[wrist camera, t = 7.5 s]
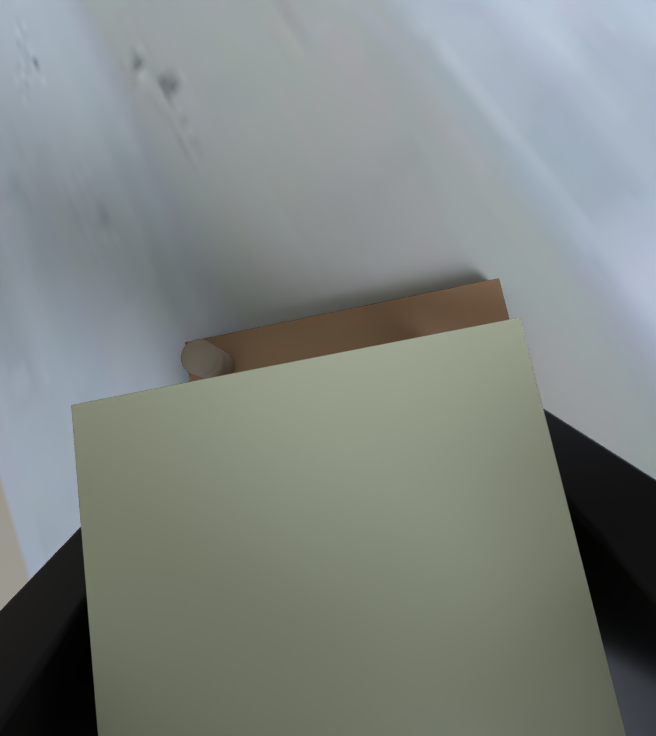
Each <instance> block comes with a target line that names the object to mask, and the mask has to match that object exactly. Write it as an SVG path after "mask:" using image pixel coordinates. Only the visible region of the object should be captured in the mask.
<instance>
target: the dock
mask: <svg viewBox="0 0 656 736" xmlns="http://www.w3.org/2000/svg"><path fill="white" fill-rule="evenodd" d="M505 320H509V316H508V312H507V308H506V304H505V300H504V296H503V292H502V288H501V284H500V280H499V278H498V279H493V280H488V281H483V282H478V283H473V284H468V285H463V286H459V287H454V288H449V289H444V290H439V291H434V292H429V293H424V294H420V295H415V296H410V297H405V298H400V299H395V300H390V301H385V302H380V303H376V304H371V305H366V306H361V307H356V308H351V309H346V310H341V311H337V312H332V313H327V314H322V315H317V316H312V317H307V318H302V319H298V320H293V321H288V322H283V323H278V324H273V325H268V326H263V327H258V328H254V329H249V330H244V331H239V332H234V333H229V334H224V335H219V336H215V337H210V338H205V339H197V340H193V341H190V342H185V345H186V346H185V347H184V349H183V351H182V354H181V362H182V365H183V367H184V368H185V369H186V370H187V371H188V372H189V375H190V382H192V381H197V380H202V379H207V378H213V377H218V376H223V375H228V374H233V373H238V372H243V371H248V370H254V369H259V368H264V367H269V366H274V365H279V364H284V363H289V362H295V361H300V360H305V359H310V358H315V357H320V356H325V355H330V354H336V353H341V352H346V351H351V350H356V349H361V348H366V347H371V346H377V345H382V344H387V343H392V342H397V341H402V340H407V339H413V338H418V337H423V336H428V335H433V334H438V333H443V332H448V331H454V330H459V329H464V328H469V327H474V326H479V325H484V324H489V323H495V322H500V321H505Z"/></svg>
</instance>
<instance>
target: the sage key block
mask: <svg viewBox="0 0 656 736" xmlns="http://www.w3.org/2000/svg"><path fill="white" fill-rule="evenodd" d="M71 408H72V421H73V433H74V445H75V458H76V470H77V482H78V495H79V507H80V519H81V532H82V544H83V556H84V569H85V581H86V593H87V606H88V618H89V630H90V643H91V655H92V667H93V680H94V692H95V704H96V717H97V729H98V736H626V734H625V730H624V726H623V722H622V718H621V714H620V710H619V706H618V702H617V699H616V695H615V691H614V687H613V683H612V679H611V675H610V671H609V667H608V663H607V659H606V655H605V651H604V647H603V643H602V639H601V635H600V631H599V627H598V623H597V619H596V615H595V612H594V608H593V604H592V600H591V596H590V592H589V588H588V584H587V580H586V576H585V572H584V568H583V564H582V560H581V556H580V552H579V548H578V544H577V540H576V536H575V532H574V528H573V524H572V521H571V517H570V513H569V509H568V505H567V501H566V497H565V493H564V489H563V485H562V481H561V477H560V473H559V469H558V465H557V461H556V457H555V453H554V449H553V445H552V441H551V437H550V433H549V430H548V426H547V422H546V418H545V414H544V410H543V406H542V402H541V398H540V394H539V390H538V386H537V382H536V378H535V374H534V370H533V366H532V362H531V358H530V354H529V350H528V346H527V342H526V339H525V335H524V331H523V327H522V323H521V319H520V318H515V319H510V320H505V321H500V322H495V323H489V324H484V325H479V326H474V327H469V328H464V329H459V330H454V331H448V332H443V333H438V334H433V335H428V336H423V337H418V338H413V339H407V340H402V341H397V342H392V343H387V344H382V345H377V346H371V347H366V348H361V349H356V350H351V351H346V352H341V353H336V354H330V355H325V356H320V357H315V358H310V359H305V360H300V361H295V362H289V363H284V364H279V365H274V366H269V367H264V368H259V369H254V370H248V371H243V372H238V373H233V374H228V375H223V376H218V377H213V378H207V379H202V380H197V381H192V382H187V383H182V384H177V385H172V386H166V387H161V388H156V389H151V390H146V391H141V392H136V393H131V394H125V395H120V396H115V397H110V398H105V399H100V400H95V401H89V402H84V403H79V404H74V405H71Z"/></svg>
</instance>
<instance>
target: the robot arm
mask: <svg viewBox="0 0 656 736" xmlns="http://www.w3.org/2000/svg"><path fill="white" fill-rule="evenodd" d="M543 410H544V414H545V418H546V422H547V426H548V430H549V433H550V437H551V441H552V445H553V449H554V453H555V457H556V461H557V465H558V469H559V473H560V477H561V481H562V485H563V489H564V493H565V497H566V501H567V505H568V509H569V513H570V517H571V521H572V524H573V528H574V532H575V536H576V540H577V544H578V548H579V552H580V556H581V560H582V564H583V568H584V572H585V576H586V580H587V584H588V588H589V592H590V596H591V600H592V604H593V608H594V612H595V615H596V619H597V623H598V627H599V631H600V635H601V639H602V643H603V647H604V651H605V655H606V659H607V663H608V667H609V671H610V675H611V679H612V683H613V687H614V691H615V695H616V699H617V702H618V706H619V710H620V714H621V718H622V722H623V726H624V730H625V734H626V736H656V480H655V479H654V478H652V477H651V476H649V475H647V474H646V473H644V472H643V471H641V470H640V469H638V468H636V467H635V466H633V465H632V464H630V463H629V462H627V461H625V460H624V459H622V458H621V457H619V456H617V455H616V454H614V453H613V452H611V451H610V450H608V449H606V448H605V447H603V446H602V445H600V444H599V443H597V442H595V441H594V440H592V439H591V438H589V437H588V436H586V435H584V434H583V433H581V432H580V431H578V430H576V429H575V428H573V427H572V426H570V425H569V424H567V423H565V422H564V421H562V420H561V419H559V418H558V417H556V416H554V415H553V414H551V413H550V412H548V411H547V410H545V409H543ZM0 736H98V729H97V717H96V704H95V692H94V680H93V667H92V655H91V643H90V630H89V618H88V606H87V593H86V581H85V569H84V556H83V544H82V532H81V527H80V528H79V529H78V530H77V531H76V532H75V533H74V534H73V536H72V537H71V538H70V539H69V540H68V541H67V542H66V543H65V544H64V545H63V546H62V547H61V548H60V549H59V550H58V551H57V552H56V553H55V554H54V555H53V556H52V557H51V559H50V560H49V561H48V562H47V563H46V564H45V565H44V566H43V567H42V568H41V569H40V570H39V571H38V572H37V573H36V574H35V575H34V576H33V577H32V578H31V579H30V580H29V581H28V583H27V584H26V585H25V586H24V587H23V588H22V589H21V590H20V591H19V592H18V593H17V594H16V595H15V596H14V597H13V598H12V599H11V600H10V601H9V602H8V603H7V604H6V606H4V608H3V609H2V610H1V611H0Z"/></svg>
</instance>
